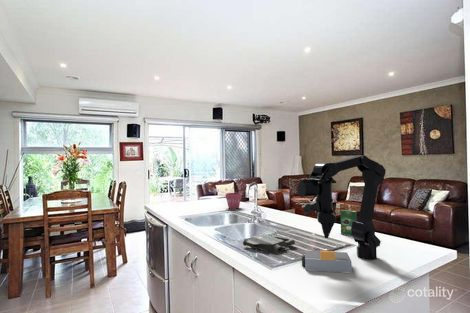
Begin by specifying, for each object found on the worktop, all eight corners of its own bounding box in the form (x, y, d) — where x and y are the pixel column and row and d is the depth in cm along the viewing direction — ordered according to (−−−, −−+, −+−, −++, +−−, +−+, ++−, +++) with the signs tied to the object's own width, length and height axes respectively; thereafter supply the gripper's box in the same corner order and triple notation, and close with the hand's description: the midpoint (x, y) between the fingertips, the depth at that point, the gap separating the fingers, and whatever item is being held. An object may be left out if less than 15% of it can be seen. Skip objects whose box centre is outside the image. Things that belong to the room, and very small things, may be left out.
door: (351, 273, 96) (350, 252, 96) (351, 274, 95) (351, 253, 95) (305, 270, 99) (304, 249, 99) (305, 271, 98) (304, 250, 98)
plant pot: (245, 208, 230) (244, 193, 231) (231, 210, 223) (230, 195, 223) (236, 206, 243) (235, 192, 243) (222, 208, 235) (222, 193, 235)
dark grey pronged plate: (281, 257, 115) (281, 245, 115) (241, 248, 127) (241, 237, 127) (296, 247, 128) (295, 236, 128) (259, 240, 140) (259, 230, 140)
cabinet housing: (347, 265, 104) (347, 252, 104) (351, 274, 96) (350, 260, 96) (301, 262, 108) (301, 250, 108) (302, 270, 100) (301, 257, 100)
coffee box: (357, 234, 144) (356, 210, 144) (357, 236, 141) (356, 211, 141) (341, 233, 148) (340, 209, 148) (340, 234, 145) (340, 210, 145)
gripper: (302, 192, 114) (303, 228, 114) (303, 198, 96) (304, 242, 96) (329, 192, 111) (331, 229, 111) (335, 199, 93) (337, 243, 93)
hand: (325, 235), depth 103 cm, fingers open, 6 cm apart
